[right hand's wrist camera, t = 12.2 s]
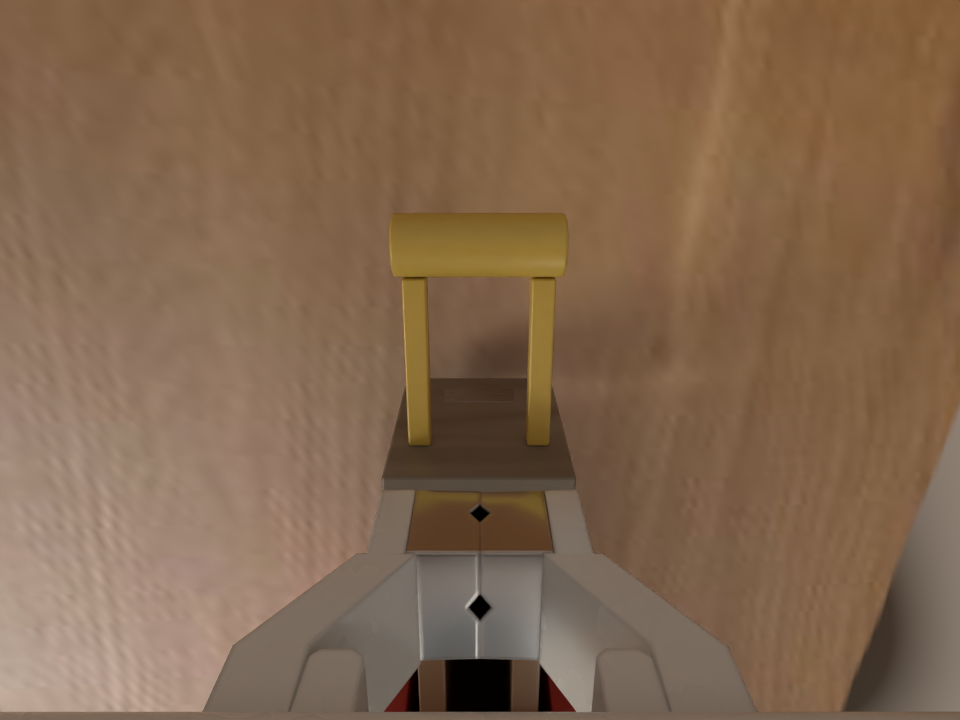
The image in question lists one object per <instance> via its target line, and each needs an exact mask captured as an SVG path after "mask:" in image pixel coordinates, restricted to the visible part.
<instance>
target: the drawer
mask: <svg viewBox="0 0 960 720" xmlns="http://www.w3.org/2000/svg"><path fill="white" fill-rule="evenodd" d="M389 255H390V265H391V270H392V273H393V275H394V276H395V277H403V278H402V281H401V283H402V306H403V329H404V352H405V374H406V386H405V390H404V394H403V398H402V402H401V405H400V409H399V413H398V417H397V421H396V425H395V429H394V433H393V437H392V441H391V445H390V448H389V452H388V456H387V460H386V464H385V468H384V472H383V476H382V492H384V490H415V491H416V492H417V490H440V491H480V492H511V491H545V490H571V489H575V487H576V477H575V473H574V469H573V465H572V461H571V457H570V453H569V449H568V446H567V442H566V438H565V434H564V430H563V426H562V422H561V418H560V414H559V410H558V406H557V402H556V399H555V395H554V391H553V387H552V366H553V342H554V319H555V296H556V280H555V277H562V276H564V274H565V272H566V268H567V261H568V223H567V218H566V215H565V214H563V213H395V214H393V215H392V217H391V220H390V227H389ZM427 277H530V306H529V341H528V377H527V379H430V354H429V320H428V286H427ZM539 682H540V663H539V660H507V659H452V660H421V664H420V665H419V667H418V683H419V706H420V712H538V706H539Z"/></svg>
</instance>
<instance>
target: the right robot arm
mask: <svg viewBox="0 0 960 720" xmlns="http://www.w3.org/2000/svg"><path fill="white" fill-rule="evenodd" d="M452 659H507V660H539V663H540V665H541V666H542V667H543V669H544V670H545V671H546V673H547V674H548V675H549V677H550V678H551V679H552V680H553V682H554V683H555V684H556V686H557V687H558V688H559V690H560V691H561V692H562V693H563V695H564V696H565V697H566V699H567V700H568V701H569V703H570V704H571V705H572V706H573V708H574V709H575V710H576V712H384V711H385V710H386V708H387V707H388V706H389V704H390V703H391V702H392V700H393V699H394V698H395V697H396V695H397V694H398V693H399V691H400V690H401V689H402V688H403V686H404V685H405V684H406V682H407V681H408V680H409V678H410V677H411V676H412V675H413V673H414V672H415V671H416V669H417V668H418V667H419V665H420V664H421V660H452ZM0 720H960V712H757V710H756V708H755V705H754V703H753V701H752V699H751V697H750V694H749V692H748V690H747V688H746V685H745V683H744V681H743V679H742V677H741V674H740V672H739V670H738V668H737V666H736V663H735V661H734V659H733V657H732V654H731V652H730V650H729V648H728V646H726V645H725V644H724V643H722V642H721V641H720V640H718V639H717V638H716V637H714V636H713V635H712V634H710V633H709V632H708V631H706V630H705V629H704V628H702V627H701V626H700V625H698V624H697V623H696V622H694V621H693V620H692V619H690V618H689V617H688V616H686V615H685V614H684V613H682V612H681V611H679V610H678V609H677V608H675V607H674V606H673V605H671V604H670V603H669V602H667V601H666V600H665V599H663V598H662V597H661V596H659V595H658V594H657V593H655V592H654V591H653V590H651V589H650V588H649V587H647V586H646V585H645V584H643V583H642V582H641V581H639V580H638V579H637V578H635V577H634V576H633V575H631V574H630V573H629V572H627V571H626V570H625V569H623V568H622V567H621V566H619V565H618V564H617V563H615V562H614V561H613V560H611V559H610V558H609V557H607V556H606V555H605V554H597V553H594V552H593V548H592V544H591V540H590V536H589V533H588V529H587V525H586V521H585V517H584V513H583V509H582V505H581V501H580V497H579V494H578V492H577V491H576V490H575V489H571V490H545V491H511V492H480V491H440V490H417V492H416V491H415V490H384V492H383V493H382V494H381V497H380V501H379V505H378V509H377V512H376V516H375V520H374V524H373V528H372V532H371V536H370V540H369V544H368V548H367V552H366V553H363V554H356V555H354V556H353V557H351V558H350V559H349V560H347V561H346V562H345V563H343V564H342V565H341V566H339V567H338V568H337V569H335V570H334V571H333V572H331V573H330V574H329V575H327V576H326V577H325V578H323V579H322V580H321V581H319V582H318V583H317V584H315V585H314V586H312V587H311V588H310V589H308V590H307V591H306V592H304V593H303V594H302V595H300V596H299V597H298V598H296V599H295V600H294V601H292V602H291V603H290V604H288V605H287V606H286V607H284V608H283V609H282V610H280V611H279V612H277V613H276V614H275V615H273V616H272V617H271V618H269V619H268V620H267V621H265V622H264V623H263V624H261V625H260V626H259V627H257V628H256V629H255V630H253V631H252V632H251V633H249V634H248V635H247V636H245V637H244V638H243V639H241V640H240V641H238V642H237V643H236V644H234V645H233V646H232V649H231V651H230V653H229V655H228V657H227V660H226V662H225V664H224V666H223V668H222V670H221V673H220V675H219V677H218V679H217V681H216V684H215V686H214V688H213V690H212V692H211V694H210V697H209V699H208V701H207V703H206V705H205V708H204V710H203V712H0Z"/></svg>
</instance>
